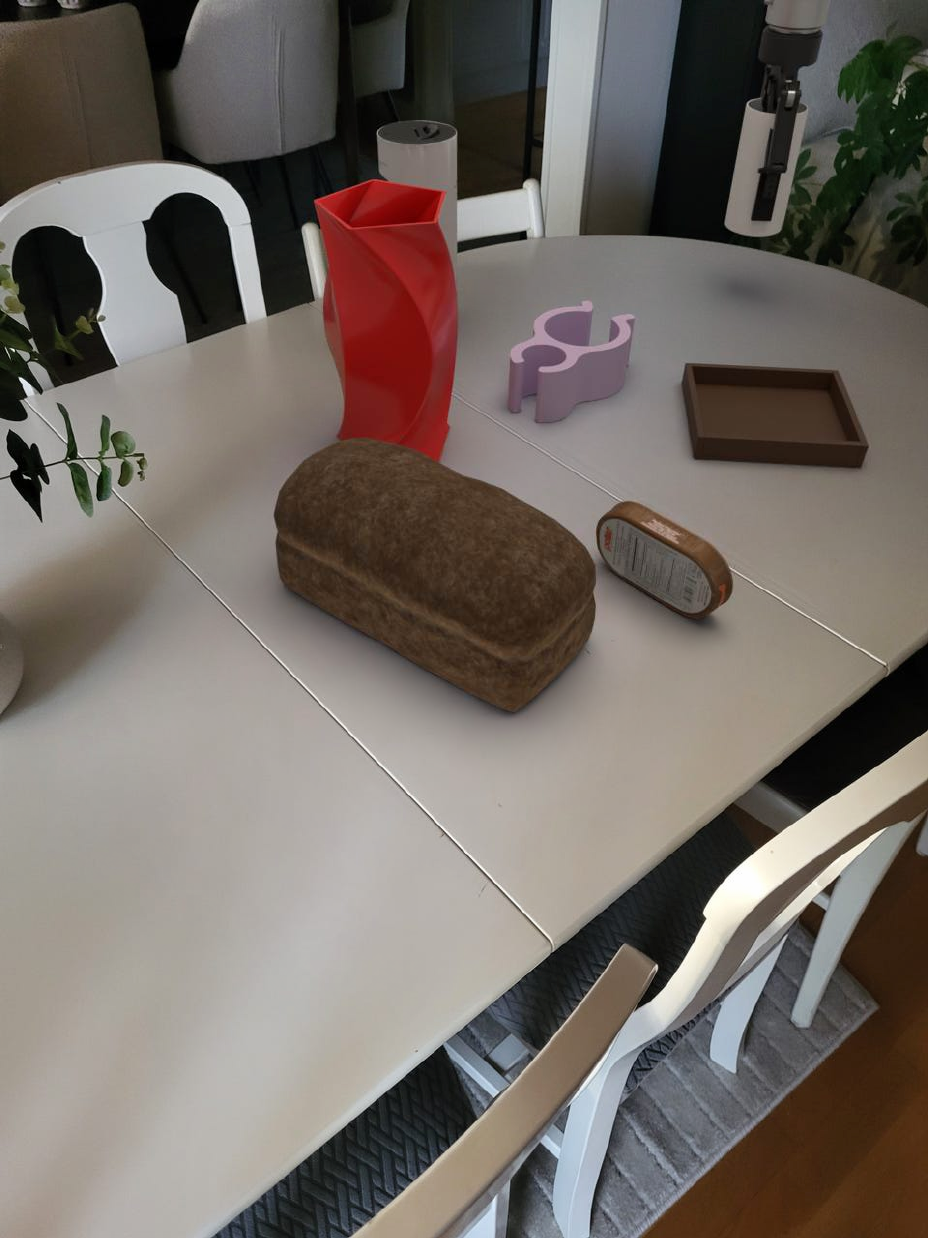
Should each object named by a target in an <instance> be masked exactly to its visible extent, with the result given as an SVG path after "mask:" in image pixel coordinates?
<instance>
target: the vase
mask: <svg viewBox="0 0 928 1238" xmlns="http://www.w3.org/2000/svg"><path fill="white" fill-rule="evenodd" d="M445 194H446V191H442V190H436V189H430V188H423V187H418V186H412V185H406V184H400V183H394V182H389V181H383V180H379V179H376V178H374V179H373V178H372V179H370V180H369V179H368V180H367V181H364V182H361V183H358V184H356V185H353V186H350V187H347V188H344V189H342V190H339V191H336V192H334V193H331V194H328V195H325V196H322V197H320V198H317V199H314V200H313V202H314V206H315V210H316V213H317V214H316V215H317V219H318V223H319V227H320V232H321V235H322V240H323V245H324V251H325V254H326V258H327V263H328V268H327V273H326V276H325V282H324V289H323V297H322V298H323V299H322V321H323V329H324V334H325V339H326V343H327V346H328V349H329V351H330V354H331V357H332V359H333V363H334V365H335V368H336V371H337V374H338V377H339V381H340V385H341V386H340V387H341V391H342V397H343V416H342V421H341V424H340V428H339V430H338V432H337V434H336V437H337V438H338V440H339V441H342V440H346V439H350V438H371V439H375V440H379V441H383V442H388V443H393V444H398V445H402V446H405V447H408V448H411V449H414V450H417V451H419V452H421V453H422V454H424V455H426V456H428V457H430V458H432V459H433V460H435V461H437V462H439V463H440V462H441V461H440V460H441V457H442V455H443V454H442V453H443V450H444V447H445V445H446V444H445V443H446V440H447V438H448V435H449V432H450V430H451V429H450V428H451V426H450V425H449V423H448V419H449V413H450V407H451V402H452V395H453V389H454V388H453V387H454V380H455V370H456V363H457V349H458V333H459V332H458V329H459V308H458V307H459V306H458V307H457V292H456V283H455V276H454V270H453V265H452V261H451V257H450V253H449V249H448V246H447V243H446V240H445V238H444V235H443V233H442V230H441V227H440V223H439V214H440V209H441V206H442V203H443V200H444V197H445Z"/></svg>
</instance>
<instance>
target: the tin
mask: <svg viewBox="0 0 928 1238" xmlns="http://www.w3.org/2000/svg"><path fill="white" fill-rule="evenodd" d="M595 537H596V539H595V540H596V546H597V550H598V553H599V554H600V556H601V558H602V560H603V561H604V563H605V564H606V566H607V567H609V569H610V570H611V571H612V572H613V573H614V574H615V575H617V576H618V577H619V578H621V579H622V580H624V581H626V582H628V583H629V584H631V585H632V586H634V587H635V588H637V589H639V590H640V591H642V592H643V593H645V594H647V595H648V596H650V597H652V598H653V599H655V600H656V601H658V602H660V603H661V604H663V605H664V606H666V607H668V608H669V609H671V610H672V611H674V612H675V613H677V614H680V615H681V616H684V617H688V618H691V619H699V618H704V617H707V616H709V615H710V614H712V613H713V612H715V611H716V610H718V608H720V606H723V605H724V604H725V603H727V602H728V600H729V599H730V598H731V596H732V593H733V590H734V579H733V574H732V572H731V568H730V566H729V563H728V562H727V559H725V557H724V556H723V554H722V553H721V552H720V551H719V550H718V549H717V547H715V545H713V544H712V543H711V542H709V541H708V540H706V539H704V538H703V537H701V536H699V535H698V534H696V533H694V532H692V531H690V530H689V529H687V528H686V527H683V526H681V525H680V524H678V523H676V522H674V521H672V520H671V519H669V518H668V517H665V516H663V515H662V514H660V513H658V512H657V511H655V510H653V509H652V508H650V507H648V506H646V505H644V504H643V503H641V502H637V501H632V500H625V501H620V502H618V503H617V504H615V505H614V506H613V507H612V508H611V509H610V510H608V511H607V512H606V513H604V514H603V515H602V516H601V517H600V519H598V521H597V524H596V529H595Z"/></svg>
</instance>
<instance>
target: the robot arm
mask: <svg viewBox="0 0 928 1238" xmlns="http://www.w3.org/2000/svg"><path fill="white" fill-rule="evenodd" d="M831 2H832V0H764V1H763V5H765V6H767V9H766V15H765V22H766V24H767V25H766V26H765V27H764V29H762V34H761V39H760V43H759V49H758V54H757V55H758V59H759V61H760V62H761V63H763V64H765V67H764V75H763V81H762V86H761V92H760V96H759V98H761V102H762V107H763V109H762V112H764V113H770V114H776V115H775V121H774V127H773V129H771V128H770V132H769V137H768V142H767V147H766V152H765V160H764V167H763V168H759V169H758V173H760V177H759V182H758V187H757V192H756V196H755V201H754V206H753V211H752V216H751V220H752V221H771V220H772V215H773V210H774V206H775V201H776V197H777V192H778V187H779V183H780V178H781V174H782V173H786V171H787V165H788V159H789V153H790V148H791V142H792V137H793V131H794V126H795V120H796V115H797V110H798V106H799V102H801V98H802V96H803V93H802V89H800V88H801V80H798V77H799V71H800V69H802V68H803V67H805V68H807V67H811V66H813V65H814V64H815V63H816V62H817V61H818V58H819V53H820V50H821V44H822V40H823V36H824V33H823V31H822V29H821V28H822V27H824V26H825V25H826V24H827V19H828V15H829V11H830V7H831Z"/></svg>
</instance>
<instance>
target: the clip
mask: <svg viewBox="0 0 928 1238" xmlns="http://www.w3.org/2000/svg"><path fill="white" fill-rule="evenodd" d="M593 312H594V306H593V302H592V301H590V300H582V301H581V303H580V305H578V306H573V305H572V306H564V307H558V308H553V309H551V310H547V311H545V312H544V313H542V314H540V315H539V316H538V317H537V318H536V319H535V320H534V322H533V329H532V337H531V338H530V339H528V340H525V341H522V342H520V343H518V344H516V345H514V346H513V348H511V350H510V353H509V371H508V372H509V373H508V393H507V407H508V410H509V411H510V412H511V413H513V414H514V413H515V414H516V413H519V412H521V411H522V399H524V398H525V397H527V396H530V395H536V400H535V413H534V414H535V415H534V421H535V422H536V423H554V422H558V421H560V420H563V419H565V418H567V417H568V416H569V415H570V414H571V413H572V411H573V409H574V407H575V406H576V405H578V404H581V403H584V402H592V401H599V400H603V399H606V398H608V397H611V396H613V395H615V394H617V393H618V392H619V391H620V390H621V389H622V388H623V385H624V382H625V376H626V368H628V367H629V364H630V357H631V356H630V355H631V349H632V342H633V335H634V328H635V322H636V316H635V315H634V314H631V313H627V314H619V315H615V316H612V317H611V318H610V319H611V320H610V328H609V336H608V342H607V343H604V344H599V345H590V338H591V329H592V321H593Z"/></svg>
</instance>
